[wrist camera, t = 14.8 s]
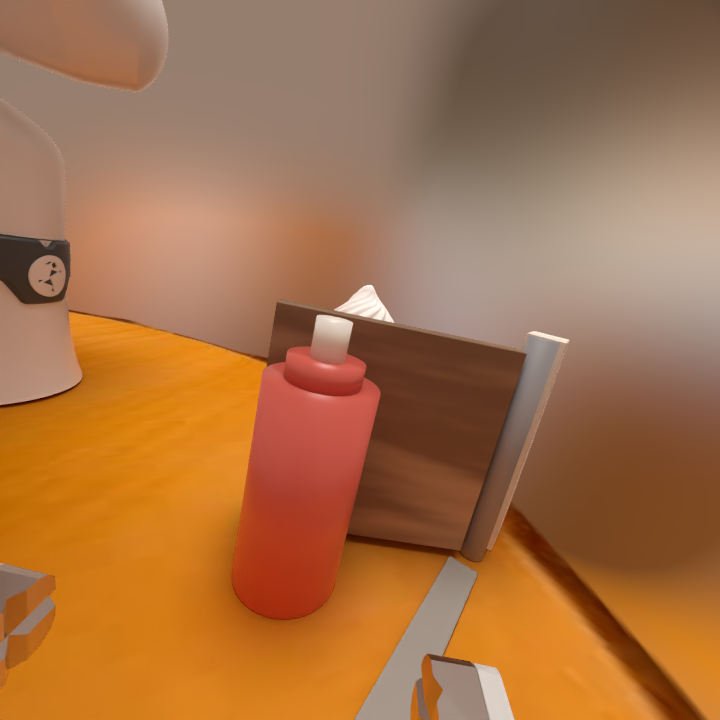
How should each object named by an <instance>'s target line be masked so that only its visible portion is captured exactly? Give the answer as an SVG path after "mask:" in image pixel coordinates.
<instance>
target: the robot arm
mask: <svg viewBox="0 0 720 720" xmlns="http://www.w3.org/2000/svg"><path fill="white" fill-rule="evenodd" d="M167 50H168V26H167V20H166V15H165V11H164V7H163V3H162V0H0V53H1V54H4V55H6V56H9V57H12V58H15V59H17V60H20V61H23V62H25V63H28V64H31V65H34V66H36V67H39V68H42V69H45V70H47V71H50V72H53V73H56V74H58V75H61V76H64V77H67V78H69V79H72V80H75V81H78V82H81V83H86V84H91V85H96V86H101V87H106V88H111V89H117V90H123V91H130V92H136V93H138V92H140V91H142V90H144V89H145V88H147V87H148V86H149V85H151V84H152V82H153V81H155V79H156V78H157V77H158V75H159V74H160V72H161V70H162V68H163V65H164V63H165V60H166V55H167ZM70 261H71V254H70V243H69V242H68V241H67V240H65V164H64V160H63V157H62V155H61V153H60V151H59V149H58V147H57V146H56V144H55V143H54V141H53V140H52V139H51V138H50V137H49V135H48V134H46V132H45V131H44V130H43V129H41V128H40V127H39V126H37V124H35V123H34V122H33V121H32V120H30V119H29V118H28V117H26V116H25V115H24V114H23V113H21V112H20V111H19V110H17V109H16V108H14V107H13V106H12V105H10V104H9V103H8V102H6V101H5V100H3V99H2V98H1V97H0V405H3V404H11V403H17V402H23V401H29V400H34V399H38V398H42V397H46V396H50V395H53V394H56V393H59V392H62V391H65V390H67V389H69V388H71V387H73V386H74V385H76V384H77V383H79V382H80V381H81V379H82V377H83V373H82V371H81V368H80V365H79V362H78V359H77V356H76V352H75V348H74V343H73V338H72V333H71V327H70V320H69V313H68V306H67V301H66V290H67V285H68V281H69V277H70ZM54 590H55V576H52V575H48V574H43V573H39V572H35V571H31V570H27V569H23V568H19V567H15V566H11V565H7V564H2V563H0V689H1V688H2V687H3V686H4V685H5V684H6V680H7V676H8V672H9V669H11V668H12V667H14V666H16V665H18V664H20V663H21V662H23V661H25V660H27V659H28V658H29V657H30V656H31V655H32V654H33V652H34V651H35V650H36V649H37V648H38V647H39V646H40V644H41V643H42V641H43V640H44V638H45V636H46V635H47V633H48V632H49V630H50V628H51V626H52V623H53V620H54V617H55V604H54V603H53V601H52V600H51V599H50V597H49V595H50V594H51V593H52V592H53V591H54ZM421 671H422V677H421V678H420V679H419V680H417V681H416V682H415V686H414V689H413V693H412V701H411V709H410V720H514V716H513V713H512V710H511V707H510V704H509V700H508V697H507V694H506V691H505V688H504V685H503V681H502V678H501V675H500V673H499V671H498V670H497V668H495V667H490V666H485V665H481V664H476V663H471V662H469V661H464V660H459V659H454V658H449V657H443V656H438V655H433V654H428V653H427V654H426V655H425V656H424V658H423V661H422V664H421Z"/></svg>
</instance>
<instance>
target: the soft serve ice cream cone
mask: <svg viewBox="0 0 720 720" xmlns="http://www.w3.org/2000/svg"><path fill="white" fill-rule="evenodd" d="M334 310H335V311H339V312H344V313H349V314H354V315H359V316H363V317H368V318H373V319H378V320H383V321H387V322H392V323H394V321H393V319H392V318H391V316H390V315H389V313H388V311H387V310H386V308H385V307H384V305H383V304H382V302H381V301H380V300H379V298H378V296H377V294H376V292H375V290H374V288H373V286H372V285H366V286H364V287H362V288H361V289H360V290H359V291H358V292H357V293H355V294H354V295H353V296H352V297H351V298H350V299H349V301H348V302H346V303H345V304H343V305H342V306H340V307H338V308H336V309H334Z"/></svg>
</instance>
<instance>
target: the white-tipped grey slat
mask: <svg viewBox="0 0 720 720" xmlns="http://www.w3.org/2000/svg"><path fill="white" fill-rule="evenodd" d="M568 343H569V340H568V339H564V338H560V337H556V336H552V335H548V334H544V333H540V332H536V331H534V332H530V333H527V335H526V338H525V341H524V344H523V347H522V350H521V351H522V352H524V353H526V354H527V355H526V358H525V361H524V364H523V367H522V370H521V373H520V376H519V379H518V382H517V385H516V387H515V390H514V393H513V396H512V399H511V402H510V405H509V408H508V411H507V414H506V417H505V420H504V423H503V426H502V429H501V432H500V435H499V438H498V441H497V444H496V446H495V449H494V452H493V455H492V458H491V461H490V464H489V467H488V470H487V473H486V476H485V479H484V482H483V485H482V488H481V491H480V494H479V497H478V500H477V503H476V505H475V508H474V511H473V514H472V517H471V520H470V523H469V526H468V529H467V532H466V535H465V538H464V541H463V544H462V547H461V550H459V552H460V553H461V554H462V555H463V556H464V557H465V558H467V559H468V560H471V561H474V562H479V561H481V560H482V559H483V557H484V554H485V551H486V549H488V550H490V551H491V550H492V548H493V545H494V543H495V541H496V538H497V536H498V533H499V531H500V529H501V526H502V524H503V521H504V518H505V516H506V513H507V510H508V507H509V505H510V502H511V499H512V496H513V493H514V491H515V488H516V485H517V483H518V480H519V477H520V474H521V472H522V469H523V466H524V464H525V461H526V458H527V455H528V453H529V450H530V447H531V444H532V442H533V439H534V436H535V433H536V431H537V428H538V425H539V422H540V420H541V417H542V414H543V412H544V409H545V406H546V403H547V401H548V398H549V395H550V392H551V390H552V387H553V384H554V382H555V379H556V376H557V373H558V371H559V368H560V365H561V362H562V359H563V357H564V354H565V351H566V348H567V346H568ZM477 575H478V573H477V572H476V571H474V570H472V569H471V568H469V567H467V566H466V565H464V564H462V563H461V562H459V561H457V560H456V559H454V558H452V557H451V556H449V558H448V560H447V561H446V563H445V565H444V567H443V568H442V570H441V572H440V573H439V575H438V577H437V579H436V580H435V582H434V584H433V585H432V587H431V589H430V591H429V592H428V594H427V596H426V597H425V599H424V601H423V603H422V604H421V606H420V608H419V609H418V611H417V613H416V615H415V616H414V618H413V620H412V622H411V623H410V625H409V627H408V628H407V630H406V632H405V634H404V635H403V637H402V639H401V640H400V642H399V644H398V646H397V647H396V649H395V651H394V652H393V654H392V656H391V658H390V659H389V661H388V663H387V664H386V666H385V668H384V670H383V671H382V673H381V675H380V676H379V678H378V680H377V682H376V683H375V685H374V687H373V688H372V690H371V692H370V694H369V695H368V697H367V699H366V701H365V702H364V704H363V706H362V707H361V709H360V711H359V713H358V714H357V716H356V718H355V719H354V720H410V709H411V701H412V693H413V689H414V686H415V682H416V681H417V680H419V679H420V678H421V677H422V671H421V664H422V661H423V658H424V656H425V655H426V654H427V653H428V654H433V655H438V656H443V654H444V651H445V649H446V647H447V644H448V642H449V640H450V638H451V635H452V633H453V631H454V628H455V626H456V624H457V621H458V619H459V617H460V614H461V612H462V610H463V607H464V605H465V603H466V600H467V598H468V596H469V594H470V591H471V589H472V587H473V584H474V582H475V580H476V577H477Z"/></svg>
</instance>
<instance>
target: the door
mask: <svg viewBox="0 0 720 720" xmlns="http://www.w3.org/2000/svg"><path fill="white" fill-rule="evenodd" d="M317 315H329V316H334V317H339V318H343V319H346V320H349V321H351V322H353V326H352V331H351V336H350V341H349V345H348V350H347V354H349V355H351V356H354V357H356V358H358V359H360V360H361V361H363V362H364V363H365V364H366V371H365V375H364V377H365V378H367V379H368V380H370V381H371V382H373V383H374V384H375V385H376V386H377V387H378V388H379V390H380V399H379V403H378V407H377V411H376V415H375V419H374V424H373V428H372V432H371V436H370V440H369V444H368V448H367V453H366V457H365V461H364V465H363V469H362V473H361V477H360V481H359V486H358V490H357V494H356V498H355V502H354V506H353V510H352V515H351V519H350V523H349V527H348V531H347V534H353V535H359V536H366V537H373V538H379V539H386V540H393V541H400V542H406V543H413V544H420V545H426V546H433V547H440V548H446V549H453V550H461V547H462V544H463V541H464V538H465V535H466V532H467V529H468V526H469V523H470V520H471V517H472V514H473V511H474V508H475V505H476V503H477V500H478V497H479V494H480V491H481V488H482V485H483V482H484V479H485V476H486V473H487V470H488V467H489V464H490V461H491V458H492V455H493V452H494V449H495V446H496V444H497V441H498V438H499V435H500V432H501V429H502V426H503V423H504V420H505V417H506V414H507V411H508V408H509V405H510V402H511V399H512V396H513V393H514V390H515V387H516V385H517V382H518V379H519V376H520V373H521V370H522V367H523V364H524V361H525V358H526V355H527V354H526V353H524V352H522V351H520V350H518V349H516V348H512V347H507V346H503V345H497V344H493V343H488V342H483V341H479V340H474V339H469V338H464V337H459V336H455V335H450V334H444V333H440V332H435V331H430V330H426V329H421V328H416V327H411V326H406V325H402V324H397V323H392V322H387V321H383V320H378V319H373V318H368V317H363V316H359V315H354V314H349V313H344V312H339V311H335V310H330V309H325V308H320V307H315V306H311V305H306V304H301V303H296V302H291V301H286V300H282V299H281V300H279V301H278V302H277V305H276V311H275V317H274V324H273V331H272V337H271V343H270V349H269V356H268V362H267V366H269V365H272V364H275V363H281V362H285V361H286V355H287V351H288V350H289V349H290V348H293V347H303V346H305V347H311V344H312V339H313V333H314V328H315V323H316V317H317Z"/></svg>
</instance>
